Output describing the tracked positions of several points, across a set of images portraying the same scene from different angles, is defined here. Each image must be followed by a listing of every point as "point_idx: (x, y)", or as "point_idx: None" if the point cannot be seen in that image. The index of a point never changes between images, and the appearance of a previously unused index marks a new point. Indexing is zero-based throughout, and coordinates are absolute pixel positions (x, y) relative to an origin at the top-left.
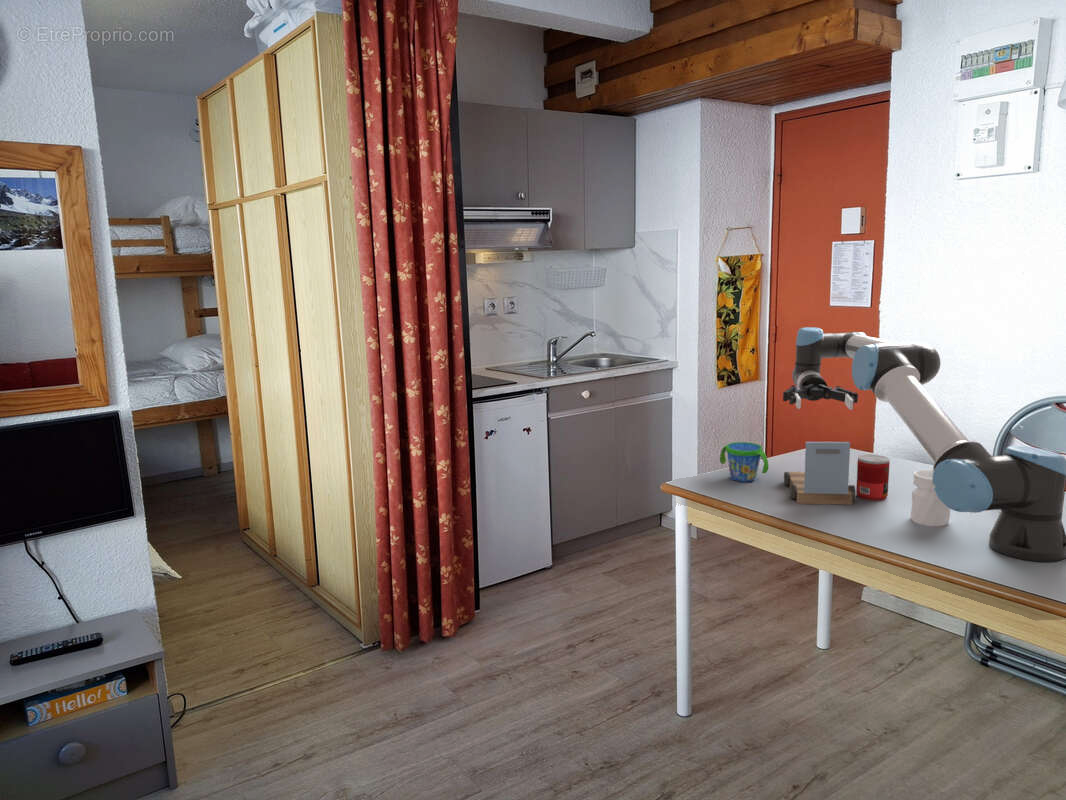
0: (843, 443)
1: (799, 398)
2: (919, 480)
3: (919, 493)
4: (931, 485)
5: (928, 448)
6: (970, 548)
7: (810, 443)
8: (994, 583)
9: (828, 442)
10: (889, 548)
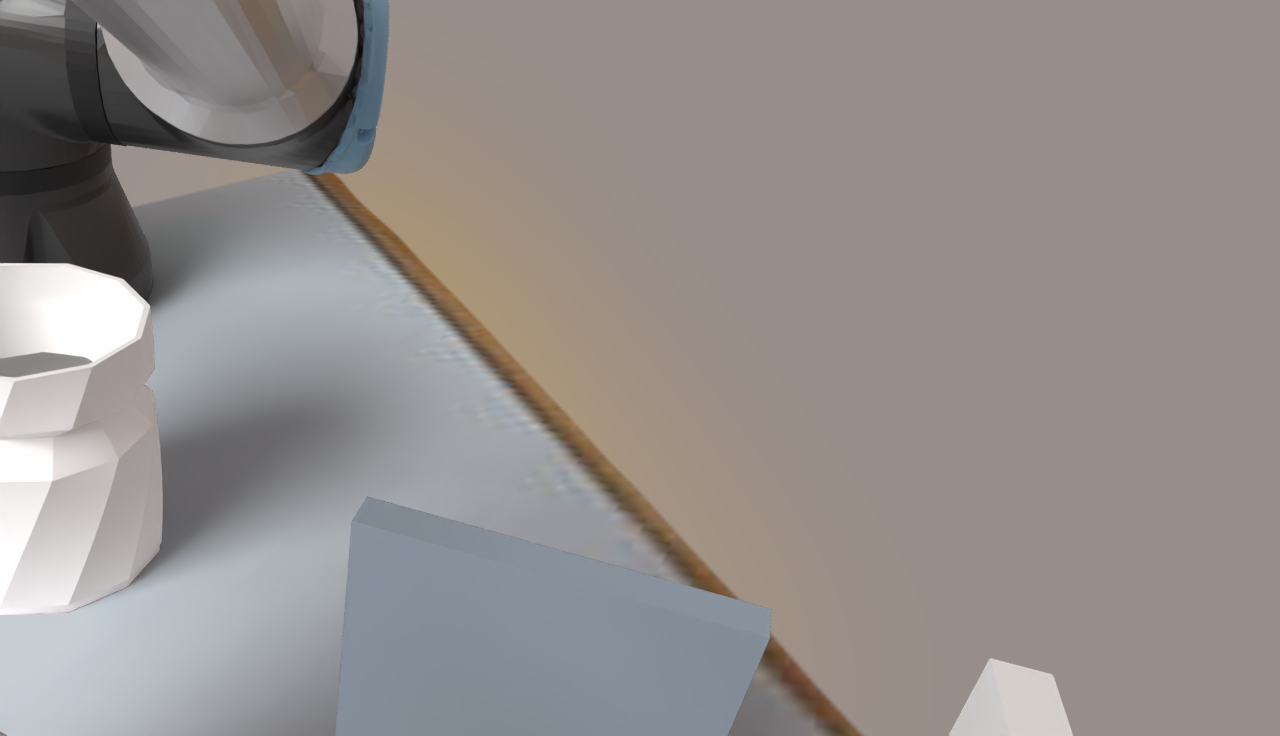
0: (428, 516)
1: (1032, 716)
2: (148, 336)
3: (142, 406)
4: (128, 313)
5: (314, 26)
6: (206, 333)
7: (730, 604)
8: (362, 225)
9: (560, 560)
10: (490, 397)
